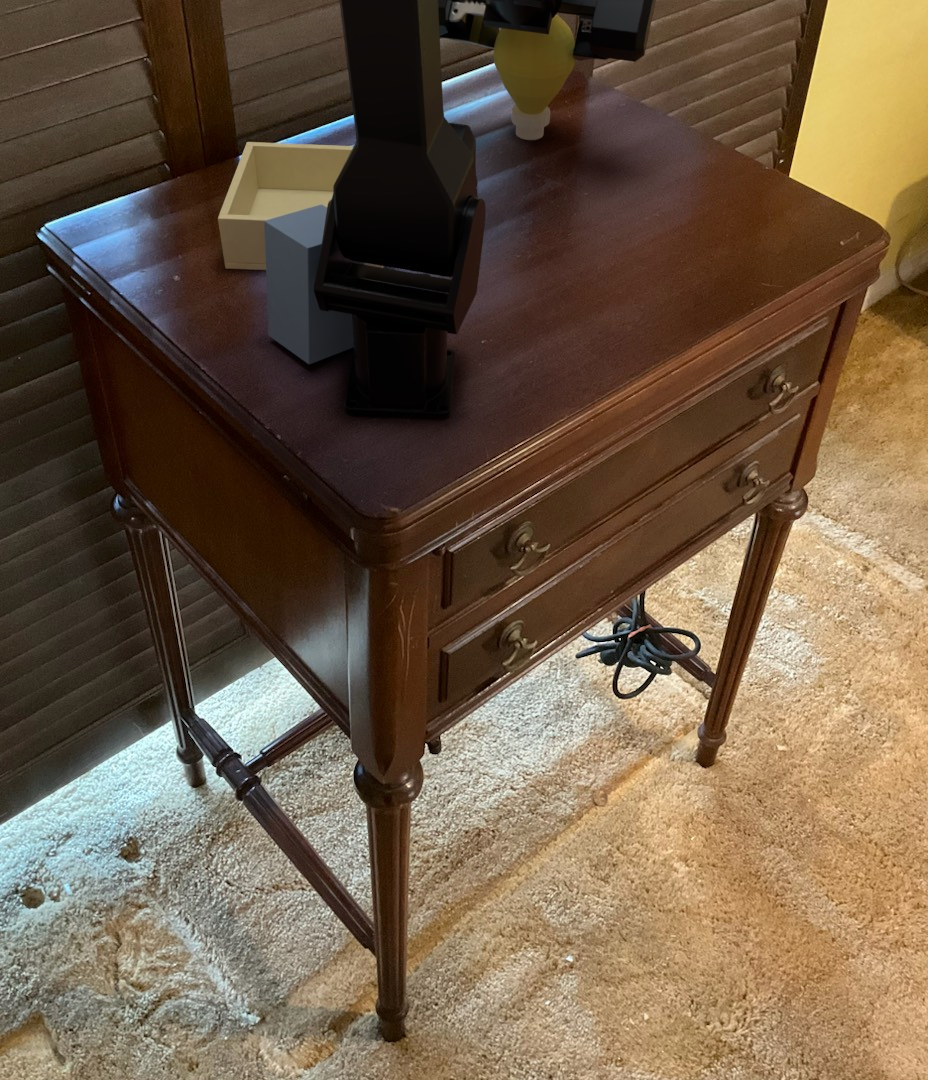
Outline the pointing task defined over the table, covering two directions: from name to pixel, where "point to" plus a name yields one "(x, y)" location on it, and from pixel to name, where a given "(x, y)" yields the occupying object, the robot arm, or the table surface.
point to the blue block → (301, 288)
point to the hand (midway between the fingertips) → (538, 48)
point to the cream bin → (274, 194)
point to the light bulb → (534, 72)
